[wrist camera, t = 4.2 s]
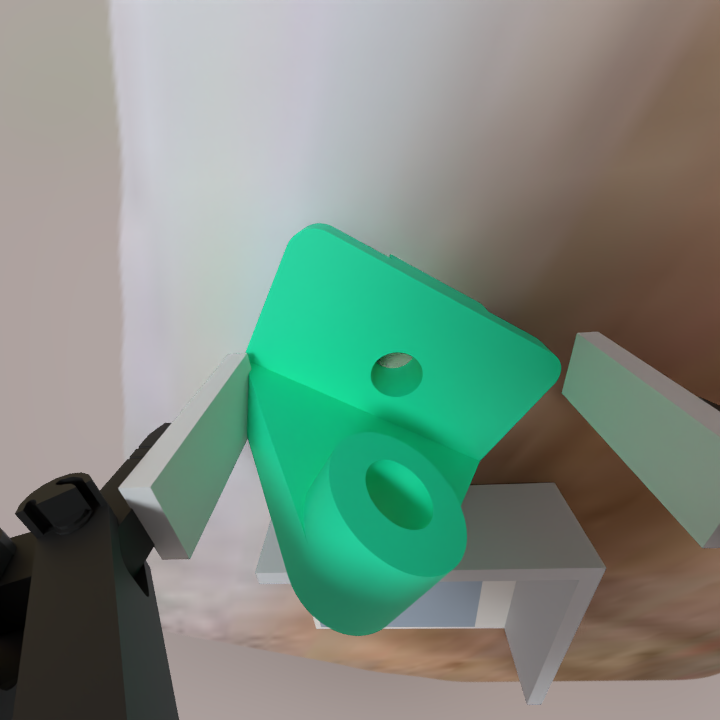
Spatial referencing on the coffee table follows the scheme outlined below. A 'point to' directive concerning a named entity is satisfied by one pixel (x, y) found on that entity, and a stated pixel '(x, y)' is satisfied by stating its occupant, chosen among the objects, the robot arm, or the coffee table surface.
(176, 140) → the coffee table surface
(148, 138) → the coffee table surface
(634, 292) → the coffee table surface
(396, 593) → the camera mount
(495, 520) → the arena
